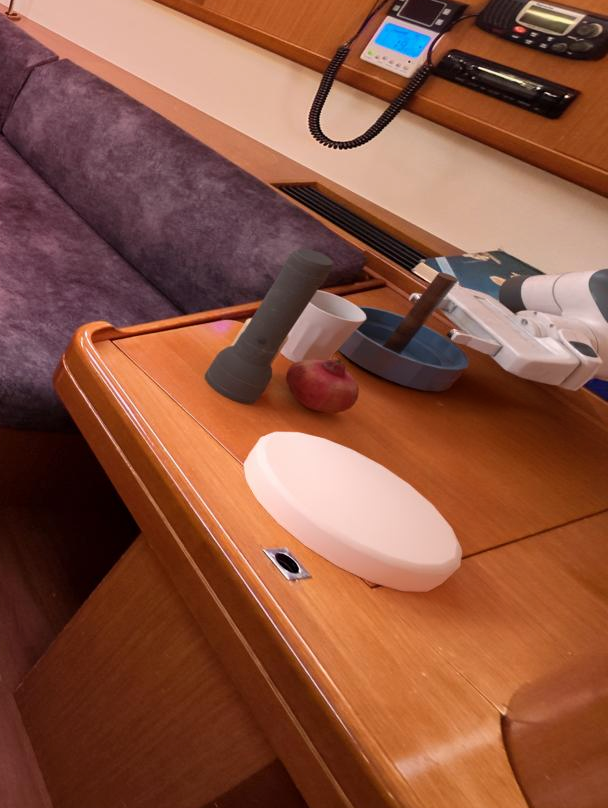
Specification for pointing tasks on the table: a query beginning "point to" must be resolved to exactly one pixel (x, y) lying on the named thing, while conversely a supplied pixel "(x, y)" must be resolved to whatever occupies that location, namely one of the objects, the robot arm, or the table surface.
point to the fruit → (322, 385)
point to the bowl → (405, 353)
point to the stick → (420, 312)
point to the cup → (322, 328)
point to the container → (352, 511)
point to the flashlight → (268, 328)
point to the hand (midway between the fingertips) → (431, 316)
